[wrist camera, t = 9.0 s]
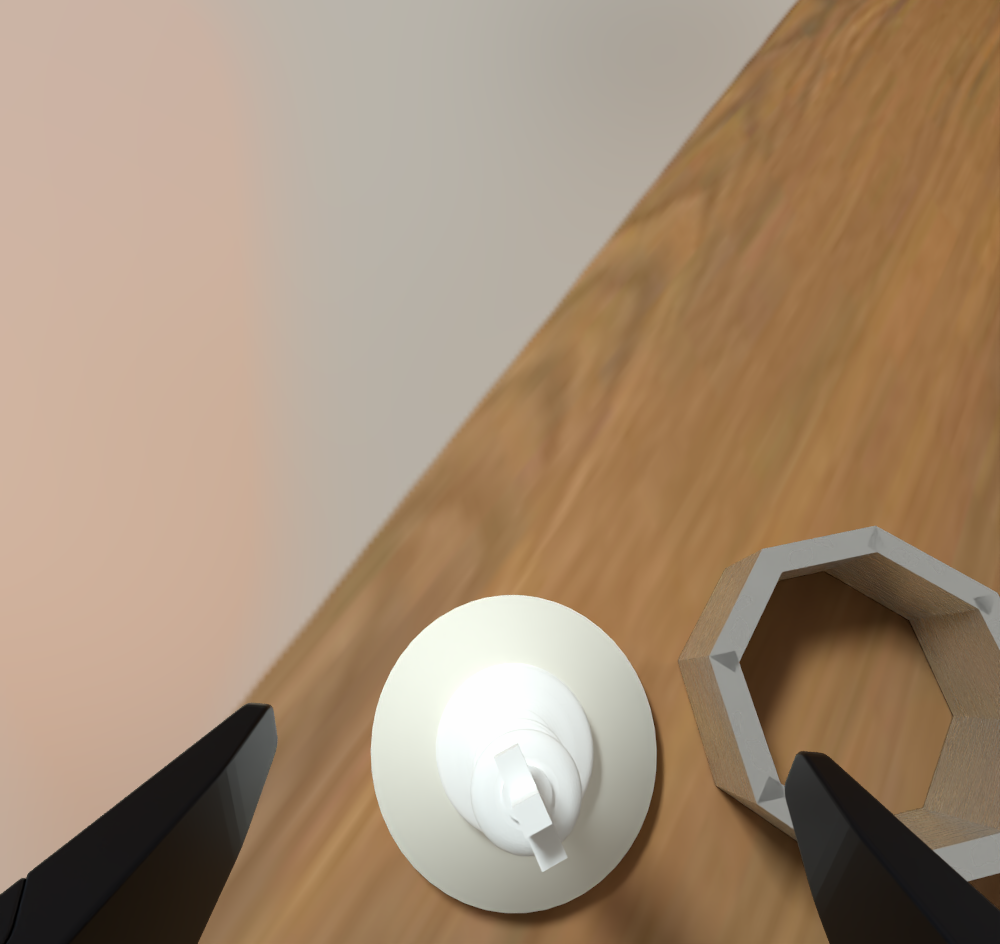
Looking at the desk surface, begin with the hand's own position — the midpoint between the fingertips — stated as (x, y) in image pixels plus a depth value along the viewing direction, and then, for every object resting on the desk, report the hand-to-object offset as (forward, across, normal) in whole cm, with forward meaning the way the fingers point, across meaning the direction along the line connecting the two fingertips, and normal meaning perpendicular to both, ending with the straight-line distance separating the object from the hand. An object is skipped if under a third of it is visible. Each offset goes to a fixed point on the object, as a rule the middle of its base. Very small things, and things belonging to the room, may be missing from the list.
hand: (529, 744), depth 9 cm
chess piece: (+6, 0, +7) cm, 9 cm away
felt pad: (+6, 0, +7) cm, 9 cm away
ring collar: (+8, -10, +5) cm, 14 cm away
